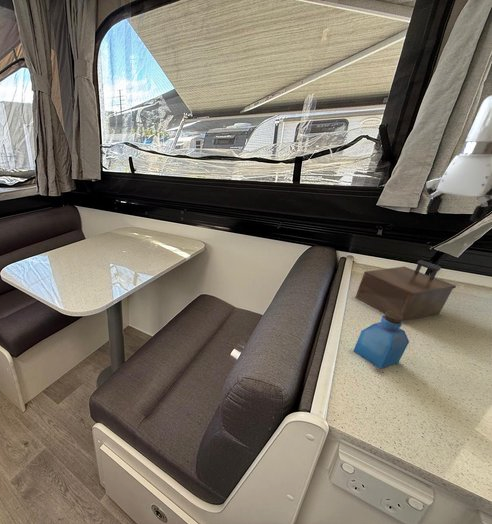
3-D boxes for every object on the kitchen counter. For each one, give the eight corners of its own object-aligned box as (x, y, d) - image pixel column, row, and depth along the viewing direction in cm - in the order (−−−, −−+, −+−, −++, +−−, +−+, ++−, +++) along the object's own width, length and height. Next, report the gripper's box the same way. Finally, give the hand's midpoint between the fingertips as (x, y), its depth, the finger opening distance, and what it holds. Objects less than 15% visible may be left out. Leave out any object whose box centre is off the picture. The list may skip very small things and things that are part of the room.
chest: (391, 291, 92) (401, 268, 89) (439, 314, 80) (453, 288, 77) (354, 297, 89) (363, 274, 86) (399, 321, 77) (411, 295, 74)
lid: (403, 268, 89) (409, 254, 87) (455, 288, 77) (463, 272, 75) (363, 273, 86) (369, 258, 84) (411, 295, 74) (419, 278, 71)
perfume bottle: (353, 350, 67) (369, 310, 62) (370, 345, 68) (388, 305, 64) (380, 369, 61) (400, 326, 56) (398, 362, 63) (419, 320, 58)
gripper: (547, 150, 61) (505, 223, 68) (451, 149, 76) (425, 208, 83) (524, 151, 59) (484, 226, 66) (431, 149, 74) (407, 210, 82)
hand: (451, 216), depth 75 cm, fingers open, 9 cm apart
